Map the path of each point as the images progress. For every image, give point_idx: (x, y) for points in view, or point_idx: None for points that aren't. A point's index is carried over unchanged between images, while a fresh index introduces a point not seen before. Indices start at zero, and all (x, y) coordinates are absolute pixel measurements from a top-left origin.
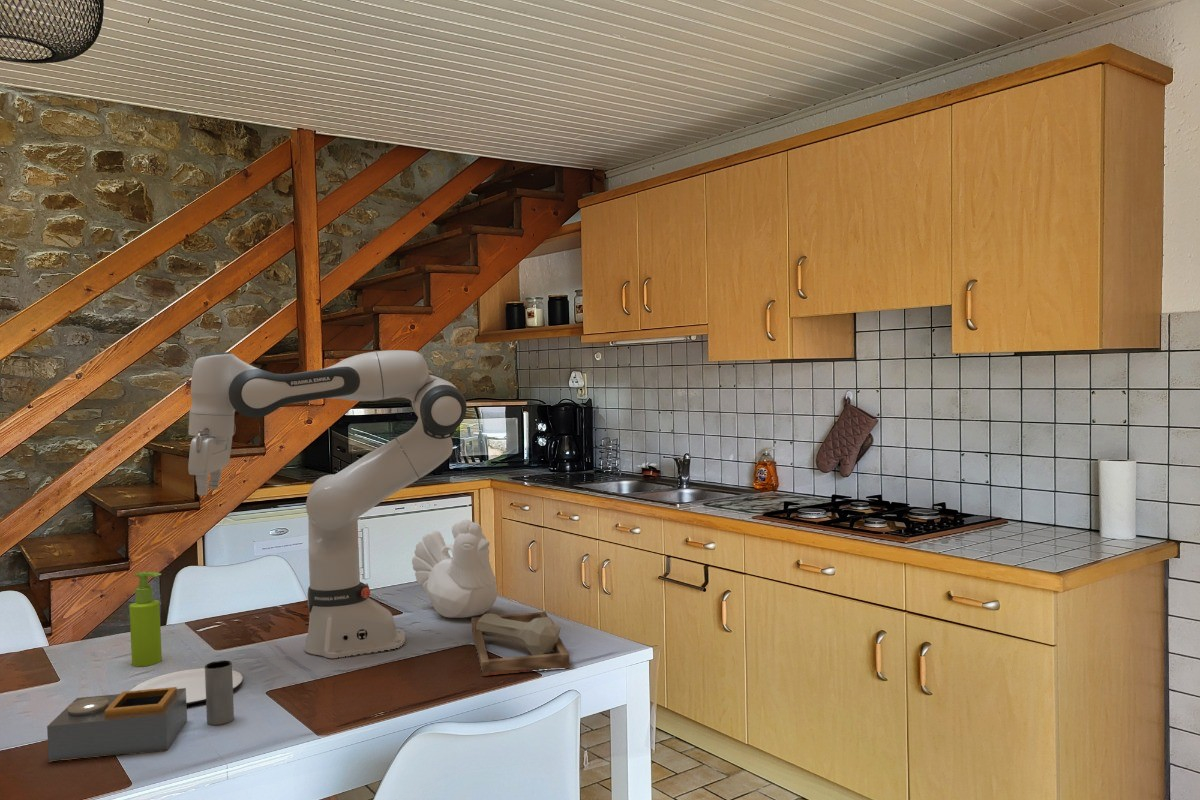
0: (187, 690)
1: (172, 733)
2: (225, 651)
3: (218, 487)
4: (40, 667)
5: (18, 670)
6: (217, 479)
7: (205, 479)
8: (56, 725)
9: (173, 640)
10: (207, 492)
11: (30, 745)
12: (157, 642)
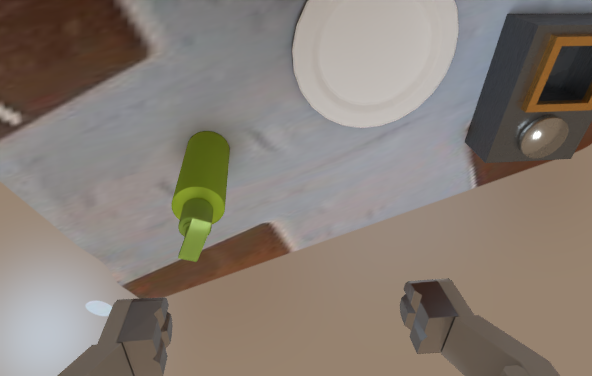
0: (381, 47)
1: (588, 16)
2: (162, 33)
3: (123, 301)
4: (208, 258)
5: (216, 272)
6: (114, 359)
7: (544, 364)
8: (574, 150)
9: (87, 145)
10: (420, 285)
11: (479, 172)
12: (212, 149)
